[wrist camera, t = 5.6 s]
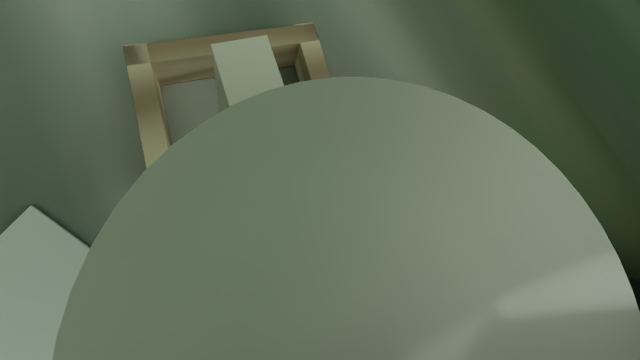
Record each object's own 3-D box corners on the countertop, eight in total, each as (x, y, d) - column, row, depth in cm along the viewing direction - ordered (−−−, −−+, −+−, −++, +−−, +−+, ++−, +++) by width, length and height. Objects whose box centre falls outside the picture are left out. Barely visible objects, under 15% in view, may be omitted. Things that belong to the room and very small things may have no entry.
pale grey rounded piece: (364, 348, 15) (756, 539, 4) (226, 406, 13) (134, 1035, 2) (303, 165, 16) (439, -112, 5) (173, 200, 15) (-42, -76, 4)
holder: (340, 156, 24) (351, 142, 22) (159, 196, 21) (149, 185, 19) (307, 46, 26) (313, 22, 23) (135, 70, 23) (122, 45, 21)
